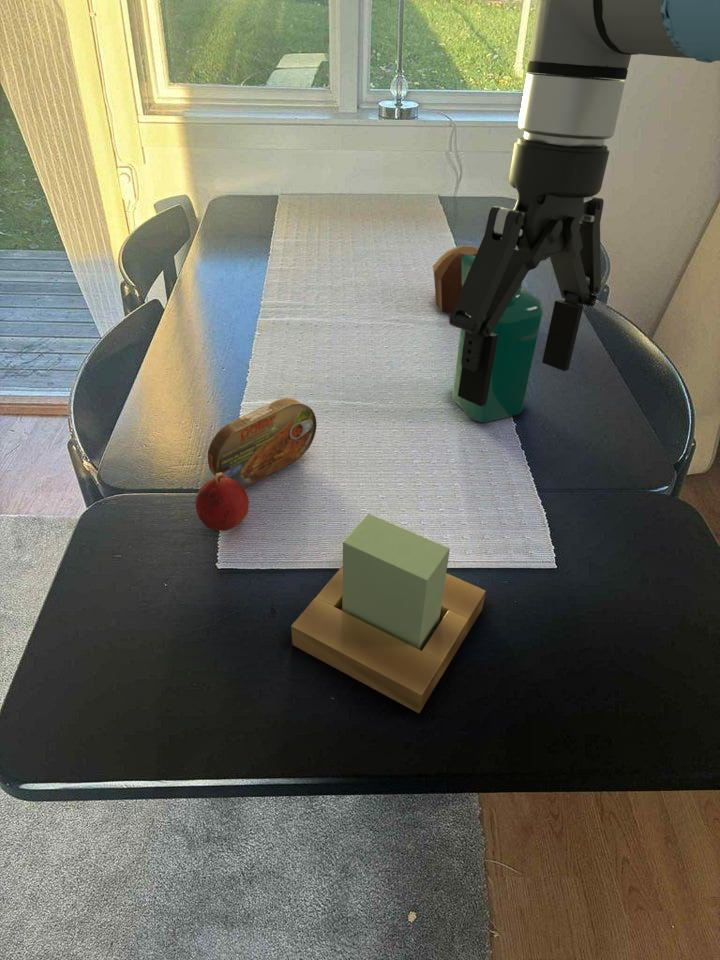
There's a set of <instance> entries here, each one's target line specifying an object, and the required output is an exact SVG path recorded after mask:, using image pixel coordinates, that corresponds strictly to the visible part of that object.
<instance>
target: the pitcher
mask: <svg viewBox="0 0 720 960" xmlns="http://www.w3.org/2000/svg"><path fill="white" fill-rule="evenodd" d="M474 259H475V256H474V255H470V254H469V255H465V256H464V257H463V258H462V287H463V285H464V282H465V280H466V278H467V275H468V273H469V271H470V268H471V266H472V263H473V261H474ZM522 284H523V282H522V283H521V285H520V286H519V288H518V290H517V291H516V293H515V295H514V296H513V298H512V300H511V301H510V303H509V305H508V306H507V308H506V310H505V311H504V313H503V315H502V316H501V318H500V320H499V321H498V323H497V325H496V326H495V328H494V330H493V331H492V333H494V334H497V335H498V339H497V345H496V351H495V356H494V362H493V368H492V374H491V380H490V386H489V391H488V397H487V403H486V405H484V406H478V405H476V404H474V403H472V402H470V401H467V400H465V399H463V398H461V397H458V390H459V384H460V377H461V370H462V364H461V359H462V352H463V345H464V338H465V331H464V330H463V329H460V328H459V329H460V330H459V338H458V346H457V354H456V362H455V371H454V379H453V386H452V395H451V396H452V399H453V400H454V402H455V403H457V405H458V406H459V407H460V408H461V409H462V411H464V413H465V414H466V415H467V416H468V418H470V419H471V420H473V421H475V422H479V423H489V422H493V421H497V420H498V421H499V420H501V419H505V418H510V417H514V416H518V415H519V414H520V413H522V411H523V409H524V406H525V402H526V398H527V397H526V396H527V391H528V386H529V381H530V378H531V372H532V367H533V364H534V363H533V362H534V358H535V353H536V348H537V343H538V340H539V339H538V338H539V334H540V328H541V325H542V324H541V323H542V318H543V315H544V307H543V304H542V302H541V300H540V299H539V298H538V297H537V296H535V295H534V294H532V293H531V292H530V291H528V290H527V289H526V288H525V287H523V285H522ZM466 313H467V312H466ZM466 313H465V314H466ZM485 319H486V316H485V318H484V320H485Z"/></svg>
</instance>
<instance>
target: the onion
mask: <svg viewBox="0 0 720 960" xmlns="http://www.w3.org/2000/svg"><path fill="white" fill-rule="evenodd" d="M249 508H250V498H249V496H248V493H247V491H246V489H245V488H243V486H241V485H240V484H239V483H238V482H237V481H235V480H233V479H231V478H228V477H226V475H225V474H224V473H222V472H220V473H216V475H215V476H213V477H212V478H210V479H208V480H207V481H206V482H205V483H203V484H202V486H201V487H200V488H199V490H198V492H197V495H196V498H195V510H196V514H197V516H198V519H199V520H200V521H201V522H202V523H203V525H204V526H206V528H208V529H210V530H213V531H215V532H226V531H229V530H230V531H231V530H232V529H234V528H236V527H238V526H239V525H240V524H241V523H243V521H244V520H245V519H246V517H247V516H248V513H249Z"/></svg>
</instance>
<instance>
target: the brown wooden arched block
mask: <svg viewBox="0 0 720 960" xmlns="http://www.w3.org/2000/svg"><path fill="white" fill-rule="evenodd" d="M478 249H479V247H477V246H474V245H469V244H468V245H458V246H455V247H452V248H450V249H448V250H446V251H445V252H444V253H443V254H442V255H441V256H440V257H439V258H438V259H437V260H436V262H435V263H434V264H433V265H432V269H433V270H432V271H433V279H434V281H433V282H434V293H435V305H436V306H437V307H438V308H439V309H440V311H441V313H444V314H448V315H449V316H450V315H451V313H452V311H453V308H454V306H455V304H456V301H457V299H458V296H459V294H460V292H461V289H462V258H463V257H464V256H465V255H469V254H470V255H474V256H476V254H477V252H478Z"/></svg>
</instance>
